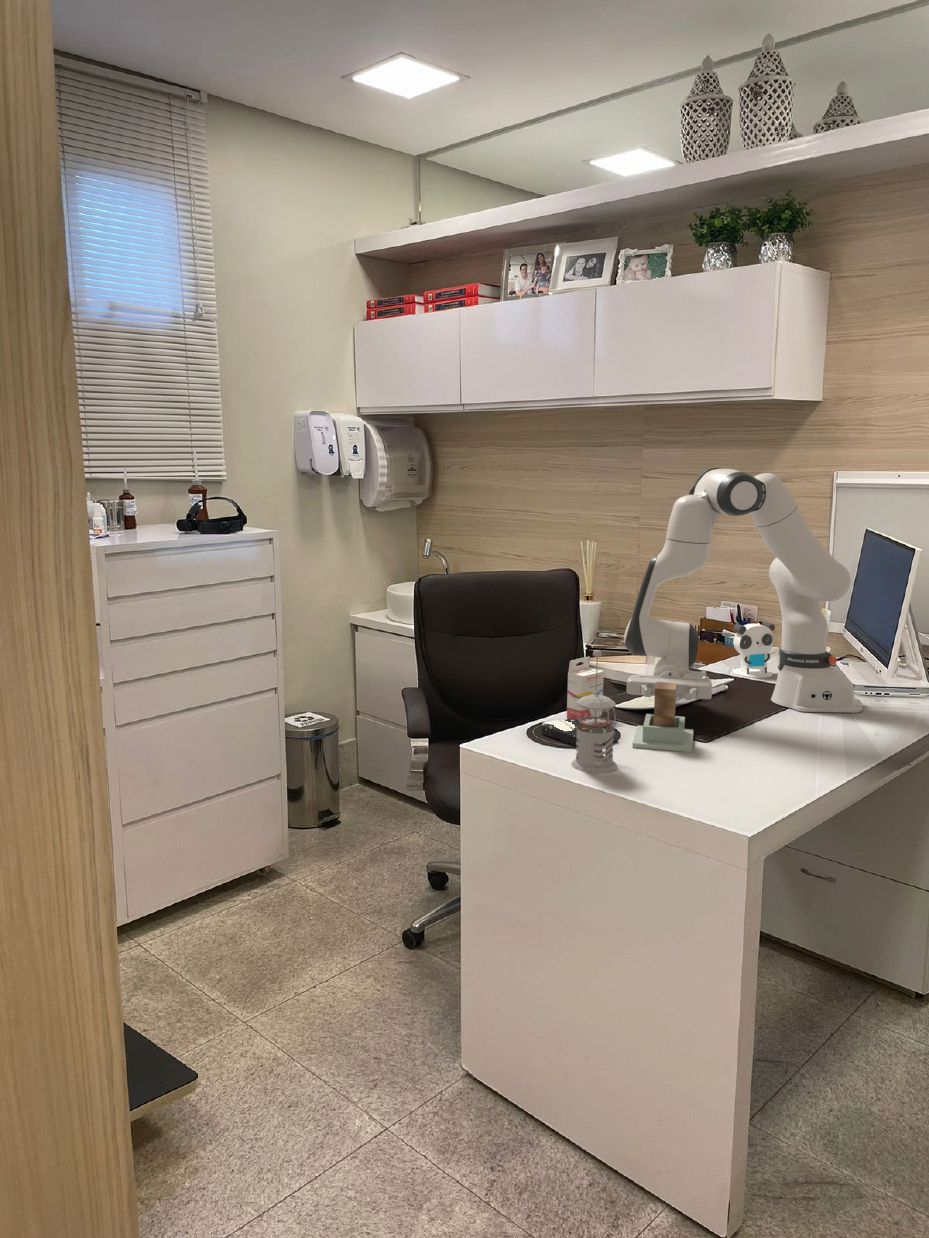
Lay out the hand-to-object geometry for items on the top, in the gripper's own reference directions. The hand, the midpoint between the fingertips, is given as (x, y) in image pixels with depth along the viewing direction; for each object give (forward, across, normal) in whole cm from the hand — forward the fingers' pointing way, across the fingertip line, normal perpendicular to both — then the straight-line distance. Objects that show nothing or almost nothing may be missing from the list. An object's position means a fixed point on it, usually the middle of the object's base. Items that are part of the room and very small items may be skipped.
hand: (667, 695), depth 221 cm
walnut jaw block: (+7, 0, +8) cm, 11 cm away
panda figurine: (-65, +22, +9) cm, 69 cm away
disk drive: (+10, -20, +10) cm, 24 cm away
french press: (+27, -14, +9) cm, 31 cm away
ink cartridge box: (-7, -20, +9) cm, 23 cm away
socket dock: (+7, 0, +9) cm, 11 cm away
